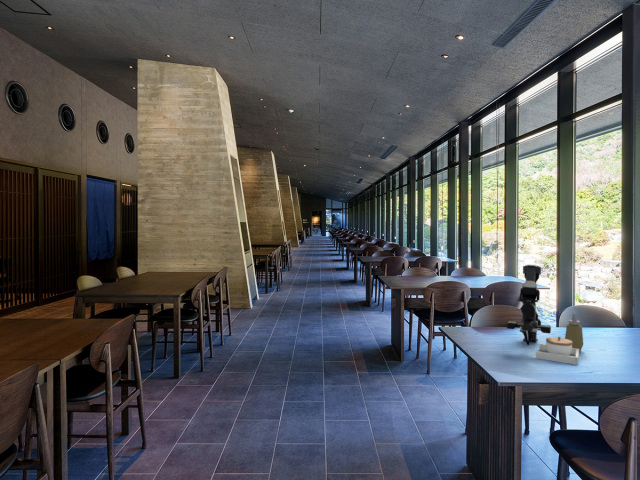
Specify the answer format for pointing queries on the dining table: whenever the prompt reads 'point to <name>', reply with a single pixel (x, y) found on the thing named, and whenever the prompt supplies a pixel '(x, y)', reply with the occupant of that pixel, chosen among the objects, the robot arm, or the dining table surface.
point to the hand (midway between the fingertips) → (528, 345)
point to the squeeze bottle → (574, 332)
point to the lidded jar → (559, 345)
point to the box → (558, 355)
